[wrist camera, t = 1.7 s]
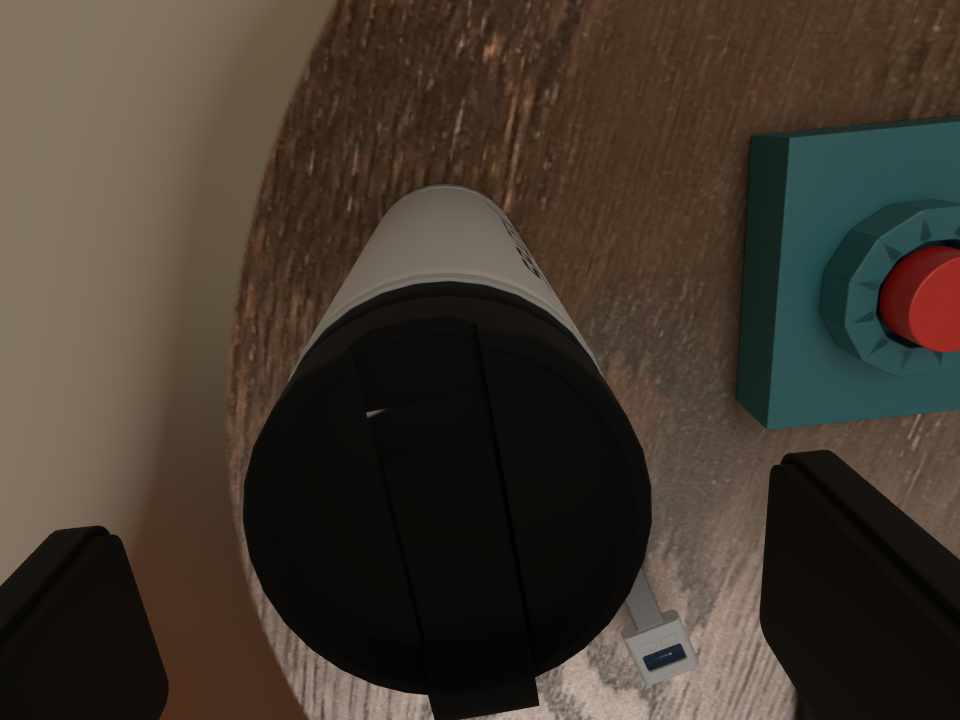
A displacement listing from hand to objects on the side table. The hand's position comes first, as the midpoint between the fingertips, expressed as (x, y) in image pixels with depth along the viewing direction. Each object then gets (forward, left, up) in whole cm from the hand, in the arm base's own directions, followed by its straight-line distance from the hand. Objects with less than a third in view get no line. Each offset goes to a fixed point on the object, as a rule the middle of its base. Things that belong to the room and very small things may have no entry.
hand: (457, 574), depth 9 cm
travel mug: (0, 0, -20) cm, 20 cm away
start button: (+2, +18, -15) cm, 24 cm away
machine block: (+2, +18, -20) cm, 27 cm away
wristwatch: (+18, +8, -20) cm, 28 cm away
